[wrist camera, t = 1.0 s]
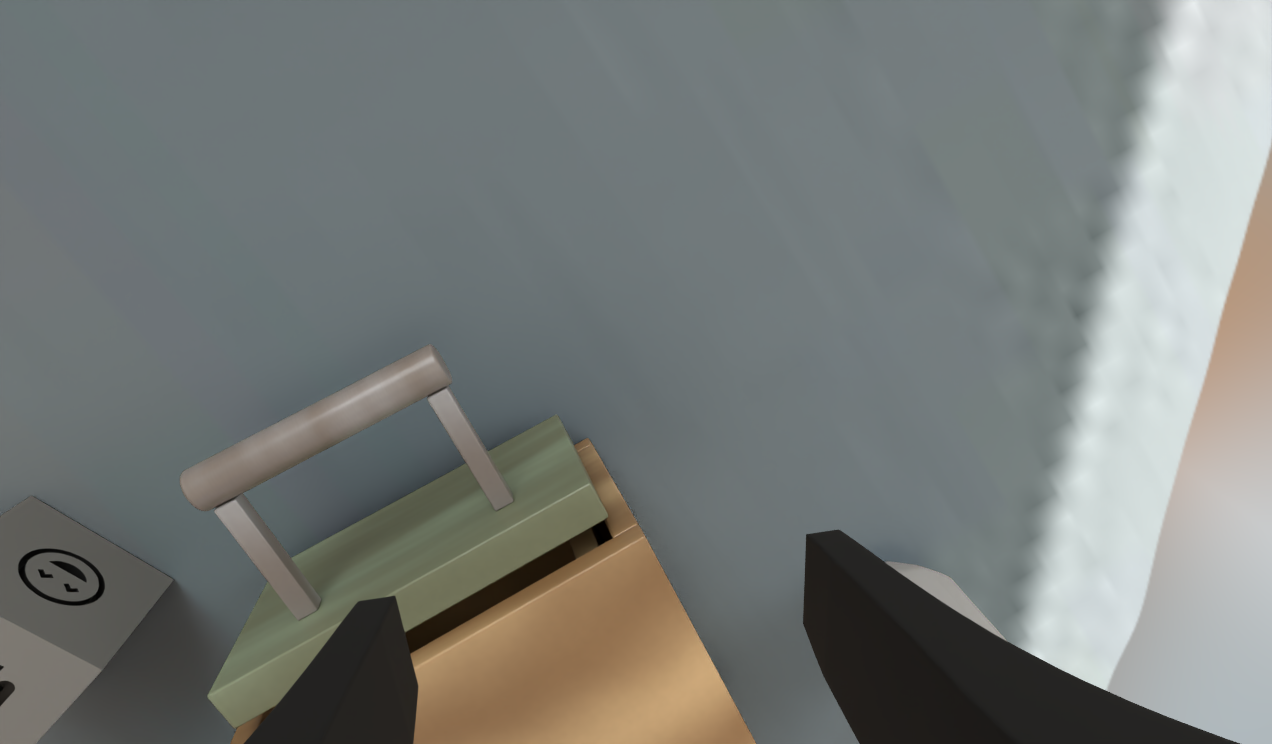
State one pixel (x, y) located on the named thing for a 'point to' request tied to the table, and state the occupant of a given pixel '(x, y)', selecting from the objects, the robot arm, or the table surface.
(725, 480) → the table surface
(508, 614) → the tan wooden box
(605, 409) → the table surface
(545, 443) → the drawer
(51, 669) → the dice cube
